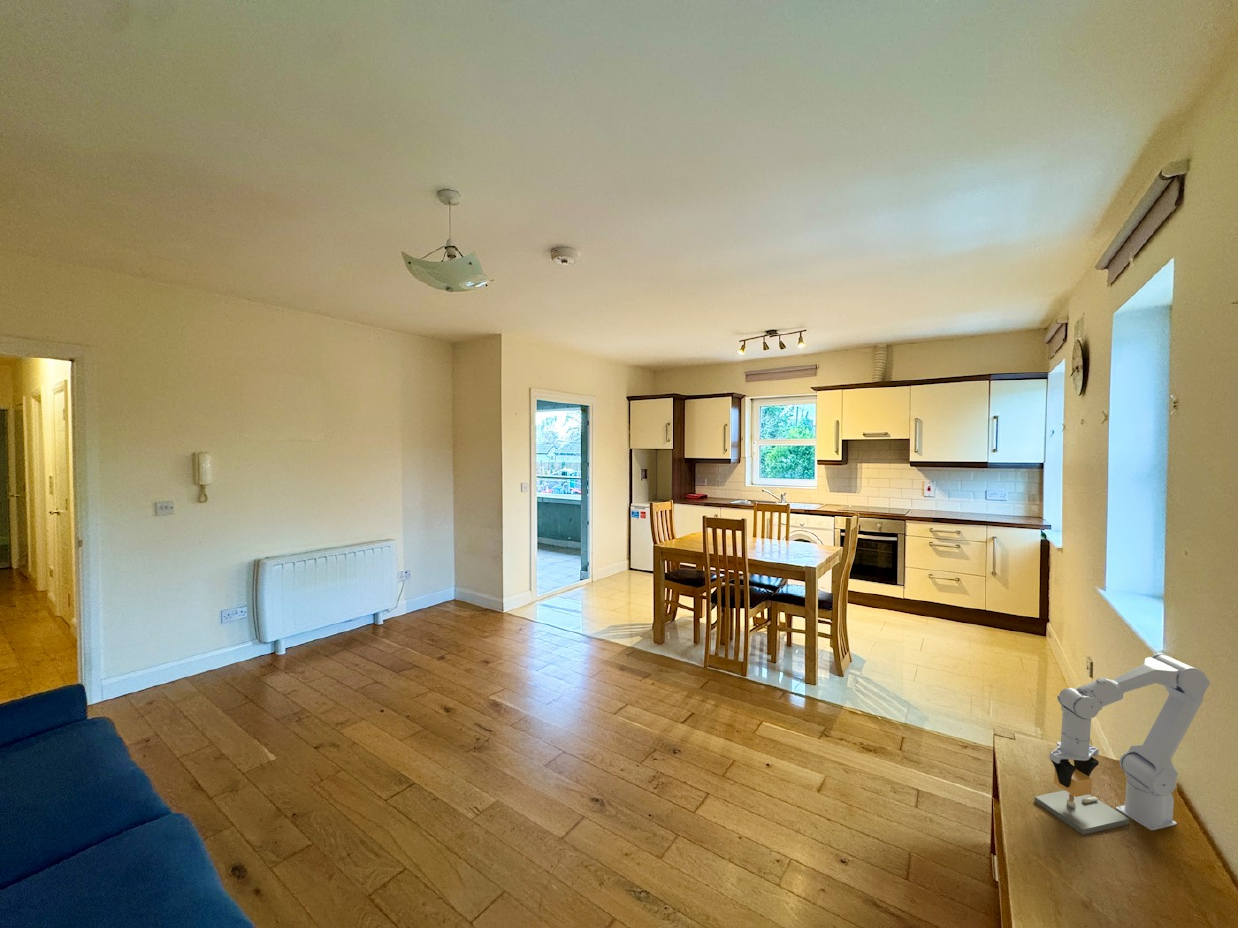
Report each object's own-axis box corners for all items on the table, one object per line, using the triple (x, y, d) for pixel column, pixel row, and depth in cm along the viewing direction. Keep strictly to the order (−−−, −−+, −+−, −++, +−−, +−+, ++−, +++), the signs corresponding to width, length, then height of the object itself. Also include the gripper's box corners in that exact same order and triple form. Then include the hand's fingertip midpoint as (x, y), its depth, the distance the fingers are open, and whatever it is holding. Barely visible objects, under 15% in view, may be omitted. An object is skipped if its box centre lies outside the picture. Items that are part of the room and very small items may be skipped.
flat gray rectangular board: (1077, 792, 144) (1078, 777, 144) (1128, 823, 132) (1130, 807, 132) (1034, 801, 140) (1035, 785, 140) (1082, 834, 128) (1084, 818, 128)
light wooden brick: (1068, 780, 139) (1069, 765, 139) (1091, 793, 134) (1092, 778, 134) (1053, 783, 138) (1054, 768, 138) (1075, 796, 133) (1076, 781, 133)
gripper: (1079, 723, 141) (1076, 769, 142) (1039, 729, 138) (1036, 777, 138) (1108, 737, 134) (1105, 786, 135) (1067, 745, 131) (1064, 795, 132)
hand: (1072, 783), depth 136 cm, fingers closed on light wooden brick, 5 cm apart
